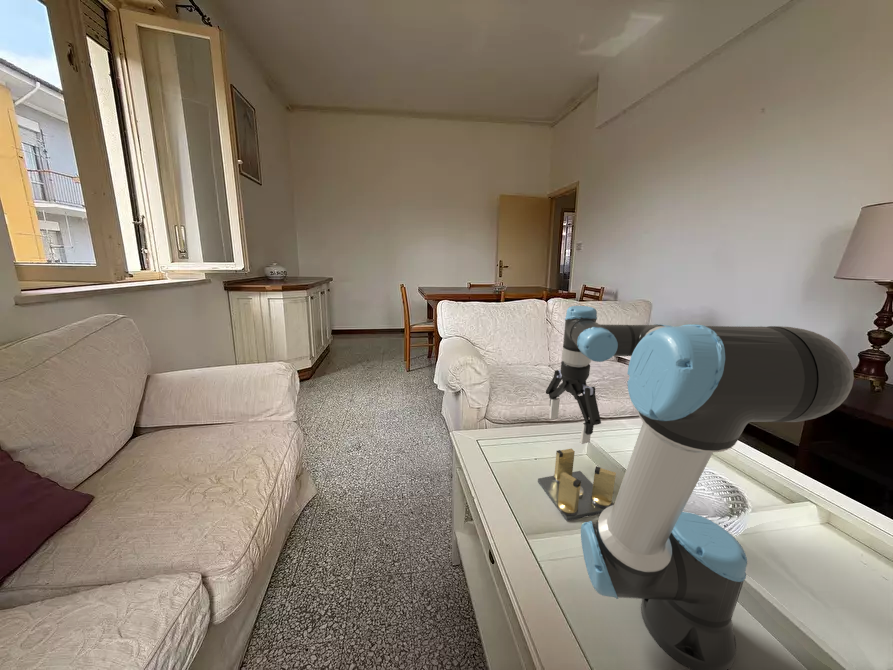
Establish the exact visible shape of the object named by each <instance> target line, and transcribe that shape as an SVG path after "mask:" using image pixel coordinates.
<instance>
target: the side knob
mask: <svg viewBox="0 0 893 670" xmlns="http://www.w3.org/2000/svg"><path fill="white" fill-rule="evenodd" d="M593 474H594V476H593V482H592V484H593V489H592V499H593V501H594V502H595V503H597V504H599V505H602V506H609V505H610V504H611V503H612V504H613V497H614V496H613V495H614V489H615V482H616V477H617V476H616V475H617V472H616V471H615V472H614V471H612V470H608V469H605V468H602V467H599V466H595V468H594V473H593Z"/></svg>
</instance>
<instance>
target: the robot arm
mask: <svg viewBox="0 0 893 670" xmlns="http://www.w3.org/2000/svg"><path fill="white" fill-rule="evenodd" d="M597 312H598V311H597V309H596V308H594V307H592V306H588V305H571V306H570V307H568V308H567V309H566V314H565V318H564V322H565V323H564V330H563V331H564V333H563V343H562V350H561V351H562V352H561V363H560V369H556V370H554V374H553V377H552V378H551V381H550V383H549V384H548V386H547V388H546V390H545V394H546V395H548V397H549V415H548V416H549V417H548V418H549V420H554V419H555V420H556V419H559V411H560V410H559V409H560V400H561V399H560V398H559V397H560V396H561V395H562V394H563V393H565V392H567V393H569V394H570V395H572V396H573V397H574V400H576V401H577V405H578V406H579V409H580V411H581V415H582V416H583V418H582V419H583V421H582V423H581V432H580V440H579V443H580V445H584V444H587V443H590V442H591V437H592V436H591V435H592V434H593V433H594V432H593V431H594V426H597V425H601V424H602V420H601V419H602V418H601V416H600V411H599V407H598V402H597V397H596V387H595V386H588V385H587V380H588V379H589V377H590V372H591V371H590V370H591V362H592V361H593V362H597V363H598V362H599V363H603V362H606V361H608V360H610V359H612V358H613V357H630V359H629V361H628V362H629V363H628V367H627V376H628V377H629V379H628V380H627V384H626V385H627V391H628V396H629V399H630V401H631V403H632V405H633V406H634V408H635V409H636V412H637V415H638V417H639V418H640V420H641V421H642V425H641V428H640V430H639V433H638V435H637V438H636V442H635V445H634V447H633V451H632V453H631V456H630V457H629V461H628V464H627V467H626V469H625V473H624V475H623V478H622V481H621V484H620V487H619V489H618V493H617V495H616V498H615V500H614V504H612V506H609V507H607V508H606V509H605V510H603V511H602V513H601V514H599V517H598V520H597V521H596V522H594V521H592V520H589V521H585V522H583V523H582V524H581V526H580V541H581V542H580V543H581V548H582V554H583V560H584V563H585V567H586V571H587V574H588V578H589V580H590V583H591V585H592V587H593V589H594V590H595V591H596V593H597V594H599V595H601V596H603V597H609V598H615V599H617V600H618V599H619V598H620V599H622V598H623V599H636V600H637V599H640V600H641V605H640V612H641V613H640V614H641V617H642V618H641V619H642V620H643V623H644V625H645V627H646V630H647V631H648V633H649V634H650V636H651V637H652V639H653V640H654V641H655V643H656V644H657V645H658V646H660V648H662V650H663V651H664V652H665V653H667V654H668V655H669V656H670V657H671V658H673V659H674V660H676V661H677V662H679V663H680V664H681V665H684V666H685V667H687V668H689V669H692V670H727V669H728V670H729V669H731V667H732V665H733V663H734V661H735V658H736V654H737V640H736V635H735V633H734V628H733V627H734V626H733V621H732V619H733V615H734V612H735V608H736V605H737V603H738V600H739V597H740V593H741V591H742V587H743V584H744V581H745V580H746V577H747V573H746V570H747V567H748V566H747V565H748V556H747V554H746V552H745V550H744V548H743V546H742V545H741V543H740V542H739V541H738V540H737V539H736V538H735V537H734V536H733V535H732V534H731V533H730V532H728V531H727V530H726V529H725V528H724V527H722V526H721V525H719V524H718V523H715V522H713V521H712V520H711V519H709V518H707V517H705V516H702V515H699V514H696V513H692V512H688V511H684V510H685V507H686V505H687V503H688V501H689V499H690V497H691V495H692V493H693V492H694V490H695V487H696V486H697V484H698V483H699V480H700V478H701V477H702V475H703V473H704V470H705V468H706V466H707V464H708V463H709V461H710V459H711V457H712V455H713V453H721V452H725V451H728V450H730V449H732V448H733V447H734V446H735V445H736V444H737V442H738V440H739V439H740V437H741V436H742V433H743V432H744V429H745V428H746V426H747V425H748V424H749V423H752V422H753V423H755V422H757V423H758V422H761V423H798V422H804V421H809V420H814V419H817V418H820V417H822V416H824V415H827V414H830V413H831V412H832V411H834V410H835V409H837V408H838V407H840V406H841V405H842V404H843V403H844V401H846V400H847V398H848V396H849V394H850V393H851V390H852V388H853V385H854V379H855V378H854V377H855V376H854V369H853V365H852V363H851V361H850V359H849V357H848V354H846V353H845V352H844V350H842V348H841V347H840V346H839V345H837V344H836V343H835V342H834V341H832V339H830V338H828V337H826V336H824V335H822V334H820V333H818V332H815V331H811V330H807V329H804V328H798V327H793V326H783V325H782V326H780V325H778V326H776V325H775V326H774V325H773V326H772V325H771V326H762V325H760V326H741V325H739V326H738V325H737V326H735V325H734V326H732V325H731V326H724V325H723V326H721V325H719V326H718V325H717V326H716V325H715V326H714V325H713V326H712V325H704V324H693V323H692V324H691V323H690V324H683V325H680V326H679V325H678V326H677V325H676V326H673V325H666V324H656V323H655V324H600V323H598V322H597V319H598V316H597V314H598V313H597Z"/></svg>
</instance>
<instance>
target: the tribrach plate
mask: <svg viewBox="0 0 893 670" xmlns="http://www.w3.org/2000/svg"><path fill="white" fill-rule="evenodd" d="M572 477H574V478H575V479H578V480H580V481H581V485H580V494H579V502H578V510H577V511H576V512H575V513H572V514H569V513H565V512H563V511H561V510H560V509H559V507H558V494H559V484H560V482H559V481H557V480H556V479H555V477H554V475H550V476H544V477H540V478H537V483H538V485H539V486H540V487H541V488H542V489H543V491H544V492H545V494H546V495H547V497H548V498H549V499H550V501H551V502H552V503H553V505H554V506H555V508H556V509H557V510H558V512H559V513H560V514H561V516H562V517H563V518H564V520H565V521H566V522H569V521H573V520H578V519H582V518H587V517H591V516H595V515H600V514H601V513H602V511H603V510H605V509H606V508H607V507H609V506H612V505H613V502H612V503H611V504H610V505H609V506H602V505H599V504H597V503H595V502H594V501H593V499H592V489H593V482H592V481H590V479H589V478H588V477H586V476H585V473H583V471H581V470H576V471H573V472H572Z"/></svg>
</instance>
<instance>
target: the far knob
mask: <svg viewBox="0 0 893 670" xmlns="http://www.w3.org/2000/svg"><path fill="white" fill-rule="evenodd" d="M575 453H576V452H575V451H574V449H573V448H567V449H562V450H561V449H558V450H556V455H555V463H554V464H555V465H554V473H553V476H554V477H555V479H556V480H557V481H559V482H560V474H561V473H563V472H565V473H567V474H569V475H570V476H572V472H574V461H575Z"/></svg>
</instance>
